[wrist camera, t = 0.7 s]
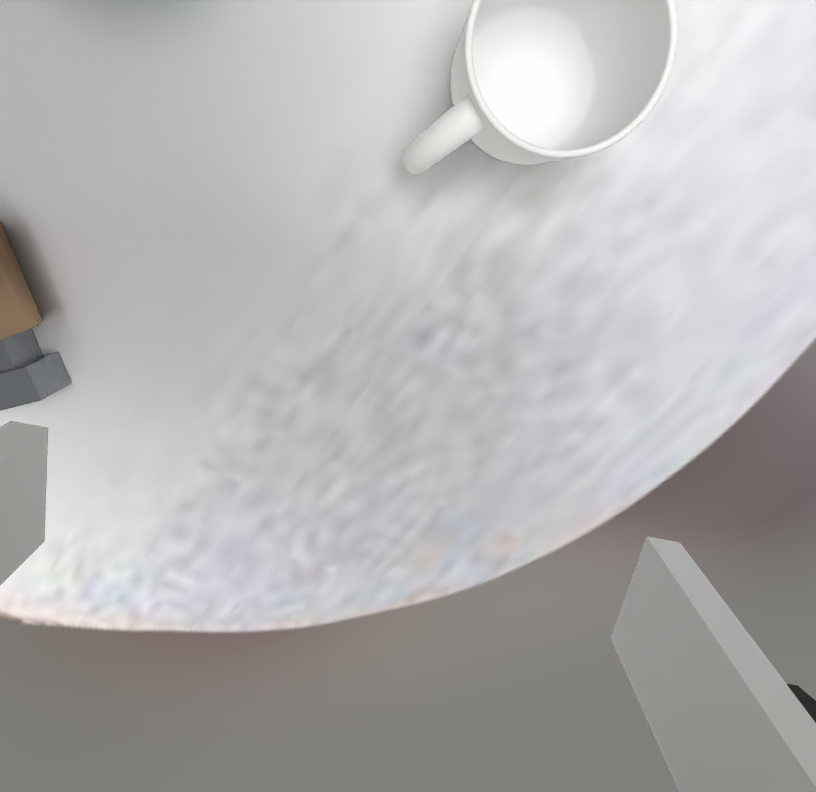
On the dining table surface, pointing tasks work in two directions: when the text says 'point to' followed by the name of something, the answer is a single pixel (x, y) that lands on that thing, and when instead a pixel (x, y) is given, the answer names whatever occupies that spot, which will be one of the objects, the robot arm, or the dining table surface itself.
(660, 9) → the mug
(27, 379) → the rail
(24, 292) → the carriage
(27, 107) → the dining table surface
